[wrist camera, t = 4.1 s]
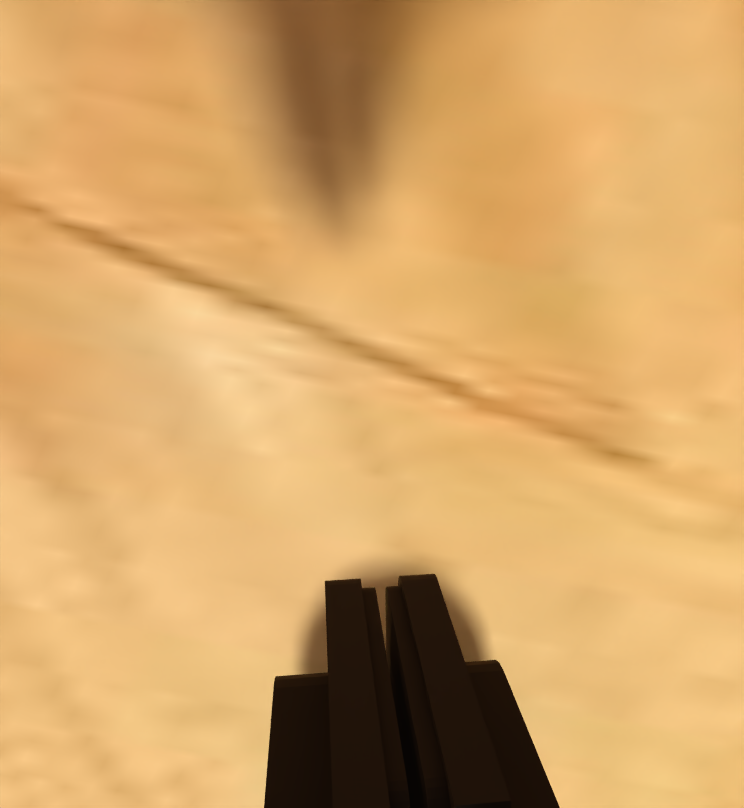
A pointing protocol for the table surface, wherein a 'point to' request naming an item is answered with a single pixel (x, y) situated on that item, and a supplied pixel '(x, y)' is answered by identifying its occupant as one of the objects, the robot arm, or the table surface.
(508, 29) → the table surface
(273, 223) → the table surface
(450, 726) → the robot arm
